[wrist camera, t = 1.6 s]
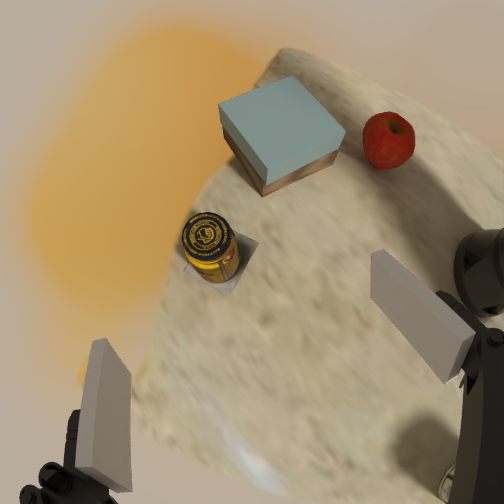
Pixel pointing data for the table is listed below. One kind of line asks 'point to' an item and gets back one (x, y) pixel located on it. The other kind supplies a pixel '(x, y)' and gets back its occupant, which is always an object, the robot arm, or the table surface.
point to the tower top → (280, 127)
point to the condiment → (215, 251)
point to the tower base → (286, 179)
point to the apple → (388, 140)
